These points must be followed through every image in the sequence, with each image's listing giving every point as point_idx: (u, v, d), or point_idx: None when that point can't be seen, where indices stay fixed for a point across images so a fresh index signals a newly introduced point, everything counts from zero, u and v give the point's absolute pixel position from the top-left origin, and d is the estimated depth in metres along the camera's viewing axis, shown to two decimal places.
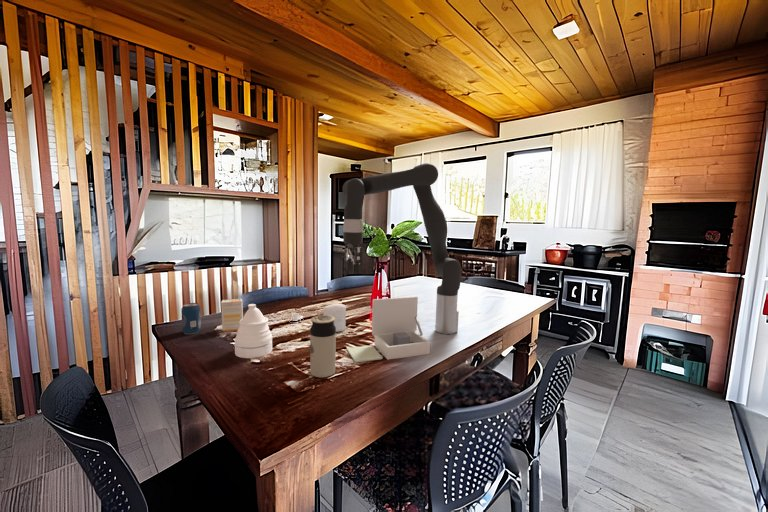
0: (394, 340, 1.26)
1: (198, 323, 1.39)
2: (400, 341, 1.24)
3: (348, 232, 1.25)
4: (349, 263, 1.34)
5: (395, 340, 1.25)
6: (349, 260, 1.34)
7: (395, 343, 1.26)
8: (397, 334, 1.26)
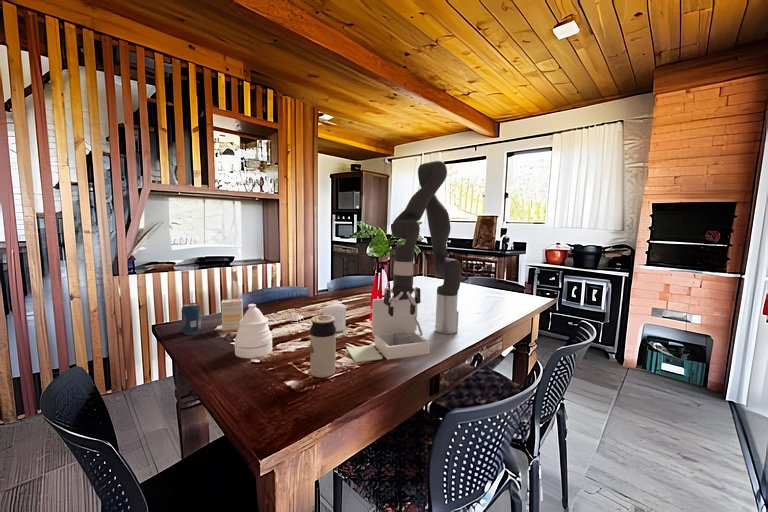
0: (394, 340, 1.26)
1: (198, 323, 1.39)
2: (400, 341, 1.24)
3: (412, 275, 1.22)
4: None
5: (395, 340, 1.25)
6: None
7: (395, 343, 1.26)
8: (397, 334, 1.26)
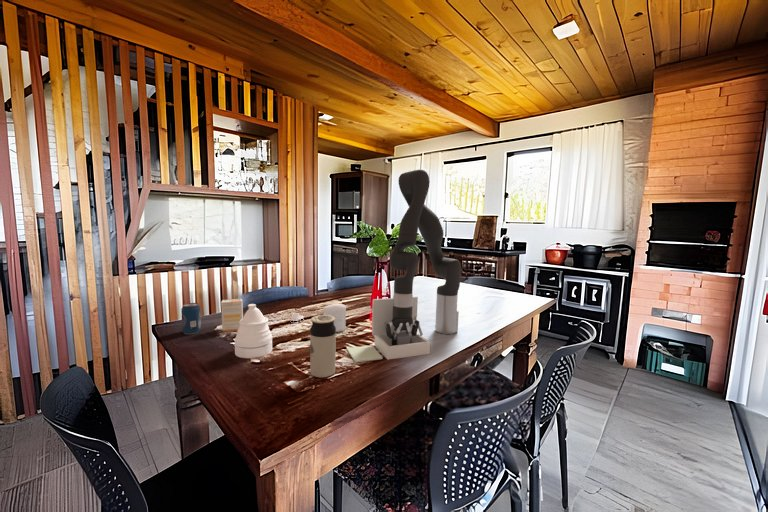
0: None
1: (198, 323, 1.39)
2: (400, 341, 1.24)
3: (411, 306, 1.23)
4: None
5: None
6: None
7: None
8: None
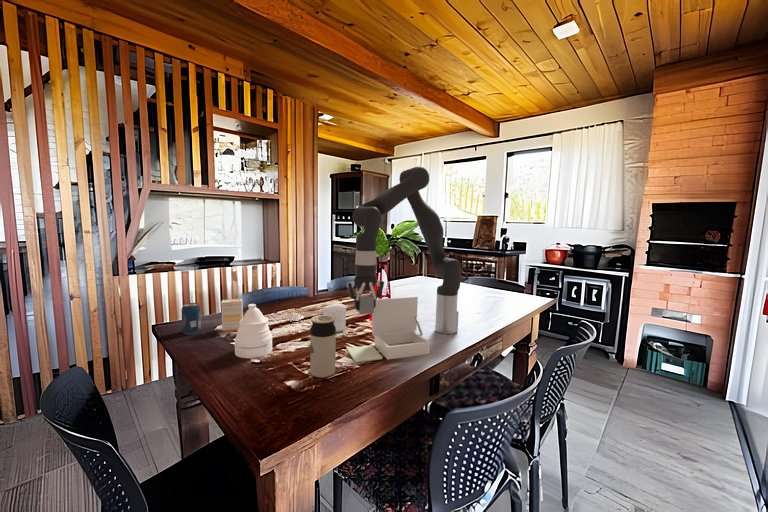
0: None
1: (198, 323, 1.39)
2: (363, 302, 1.17)
3: (375, 265, 1.16)
4: None
5: None
6: None
7: None
8: (360, 295, 1.19)
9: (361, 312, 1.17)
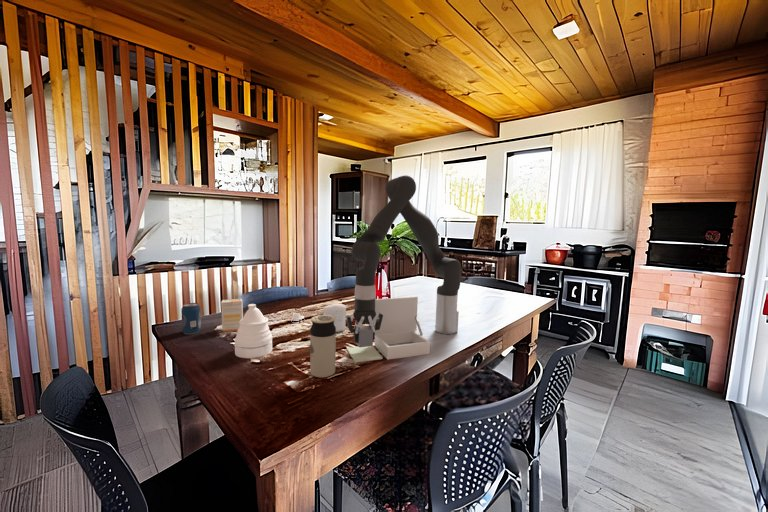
0: None
1: (198, 323, 1.39)
2: (362, 335, 1.18)
3: (374, 299, 1.18)
4: None
5: None
6: None
7: None
8: None
9: (360, 345, 1.18)
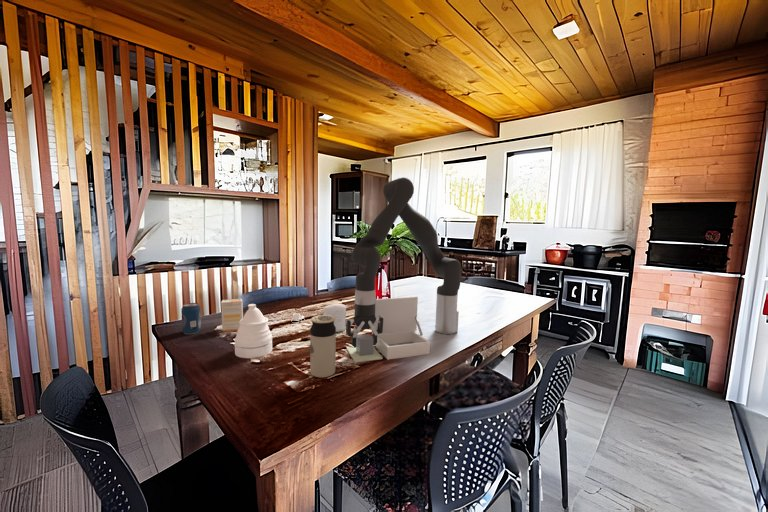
0: (357, 343, 1.21)
1: (198, 323, 1.39)
2: (362, 344, 1.18)
3: (374, 304, 1.18)
4: None
5: (358, 343, 1.20)
6: None
7: (358, 346, 1.20)
8: (360, 336, 1.21)
9: (360, 354, 1.18)
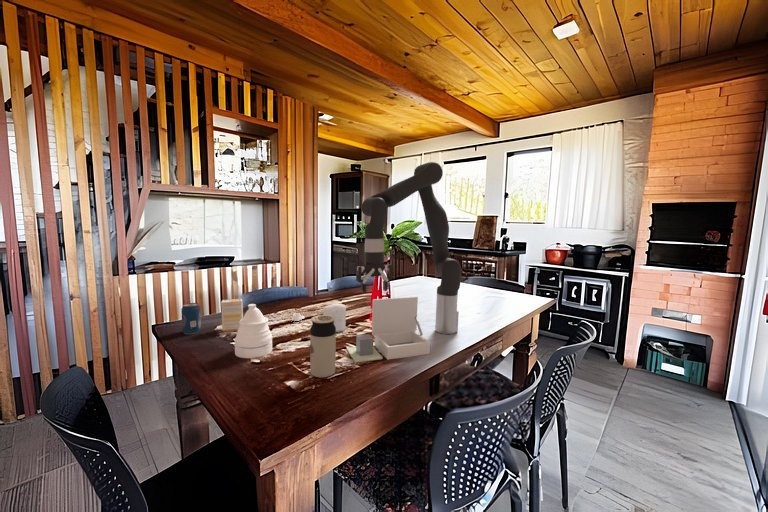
0: (357, 343, 1.21)
1: (198, 323, 1.39)
2: (362, 344, 1.18)
3: (383, 251, 1.25)
4: None
5: (358, 343, 1.20)
6: None
7: (358, 346, 1.20)
8: (360, 336, 1.21)
9: (360, 354, 1.18)
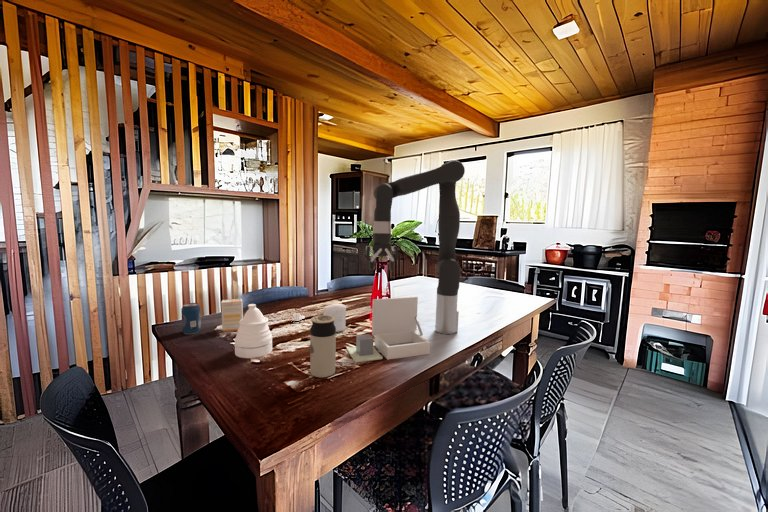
0: (357, 343, 1.21)
1: (198, 323, 1.39)
2: (362, 344, 1.18)
3: (390, 233, 1.38)
4: None
5: (358, 343, 1.20)
6: None
7: (358, 346, 1.20)
8: (360, 336, 1.21)
9: (360, 354, 1.18)
